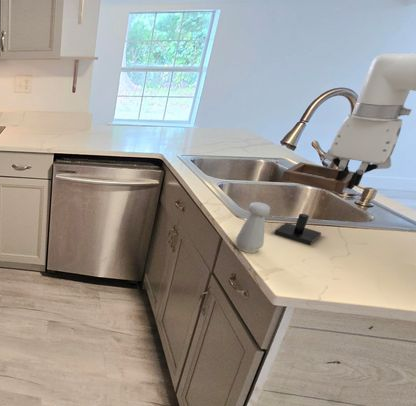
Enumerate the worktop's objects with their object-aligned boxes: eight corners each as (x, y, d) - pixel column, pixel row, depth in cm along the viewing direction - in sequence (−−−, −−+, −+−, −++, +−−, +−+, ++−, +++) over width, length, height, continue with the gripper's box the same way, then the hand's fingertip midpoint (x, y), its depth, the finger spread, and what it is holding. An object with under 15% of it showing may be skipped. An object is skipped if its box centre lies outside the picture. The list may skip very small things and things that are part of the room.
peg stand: (320, 236, 101) (328, 216, 98) (310, 245, 97) (318, 224, 94) (285, 226, 107) (291, 206, 105) (274, 234, 103) (280, 214, 100)
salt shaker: (251, 243, 98) (264, 199, 93) (266, 254, 93) (281, 208, 88) (229, 243, 99) (241, 199, 94) (242, 255, 93) (256, 209, 88)
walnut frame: (355, 182, 93) (359, 172, 92) (341, 193, 87) (345, 183, 86) (297, 170, 102) (300, 162, 101) (281, 179, 96) (284, 170, 95)
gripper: (430, 114, 79) (393, 192, 87) (335, 106, 91) (310, 175, 98) (424, 118, 75) (386, 199, 83) (326, 109, 87) (300, 181, 95)
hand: (345, 186), depth 91 cm, fingers closed on walnut frame, 1 cm apart
